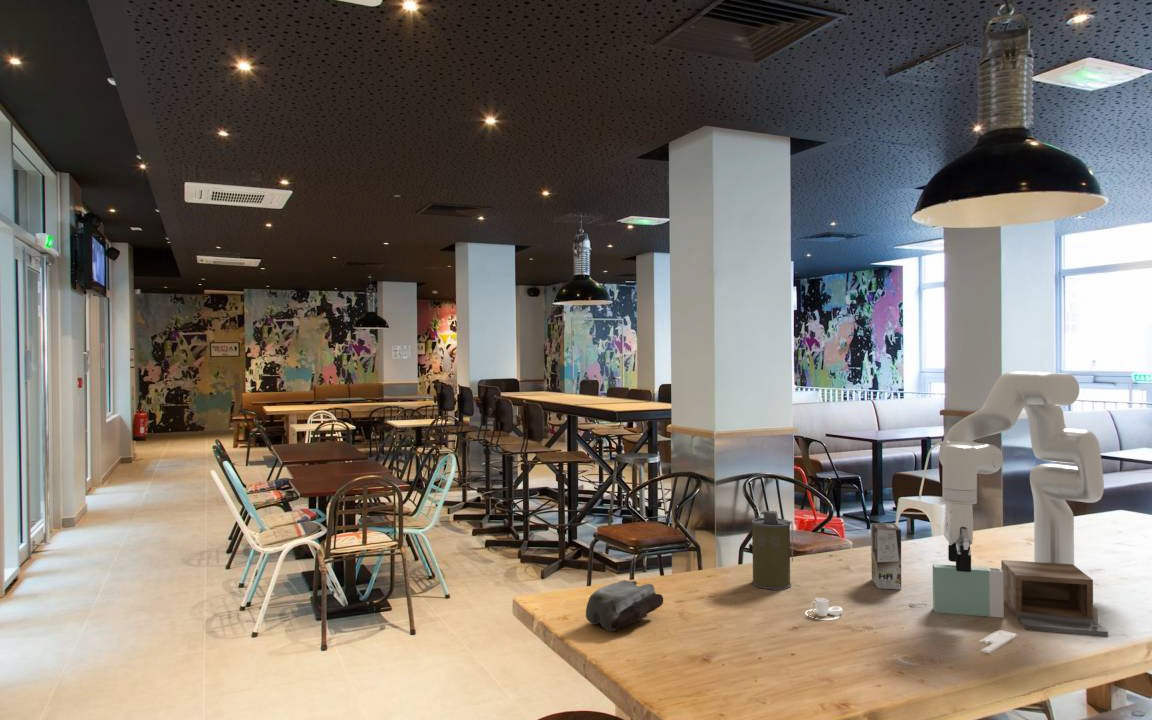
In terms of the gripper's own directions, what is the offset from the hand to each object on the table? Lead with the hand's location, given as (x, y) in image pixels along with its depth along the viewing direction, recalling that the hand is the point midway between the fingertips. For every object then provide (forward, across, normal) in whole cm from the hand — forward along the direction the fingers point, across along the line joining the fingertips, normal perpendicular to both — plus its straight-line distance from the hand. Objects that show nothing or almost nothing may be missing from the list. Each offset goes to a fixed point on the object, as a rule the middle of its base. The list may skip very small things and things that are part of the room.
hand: (959, 566), depth 186 cm
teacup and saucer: (+13, +12, -29) cm, 34 cm away
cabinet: (+11, -3, +20) cm, 23 cm away
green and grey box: (+11, -1, +2) cm, 11 cm away
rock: (+13, +27, -77) cm, 82 cm away
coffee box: (+11, -21, -15) cm, 28 cm away
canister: (+12, -13, -45) cm, 48 cm away
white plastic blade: (+12, +18, +3) cm, 22 cm away
